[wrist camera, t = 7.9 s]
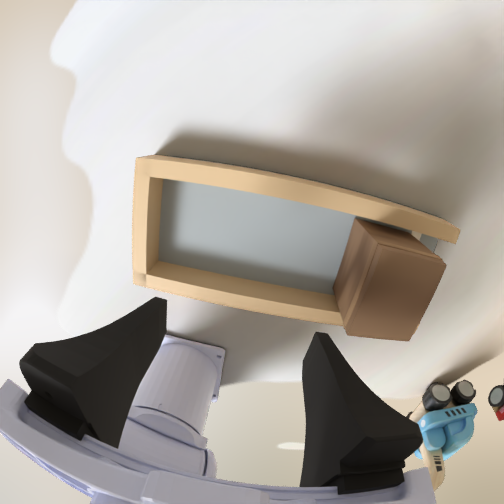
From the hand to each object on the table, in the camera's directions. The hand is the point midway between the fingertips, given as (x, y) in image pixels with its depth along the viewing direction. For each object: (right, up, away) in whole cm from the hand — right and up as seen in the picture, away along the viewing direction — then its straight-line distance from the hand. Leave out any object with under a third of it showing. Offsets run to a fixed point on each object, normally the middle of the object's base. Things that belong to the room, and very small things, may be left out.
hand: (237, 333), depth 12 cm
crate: (+10, +3, +8) cm, 13 cm away
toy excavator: (+24, -17, +16) cm, 34 cm away
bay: (+4, +5, +8) cm, 10 cm away
